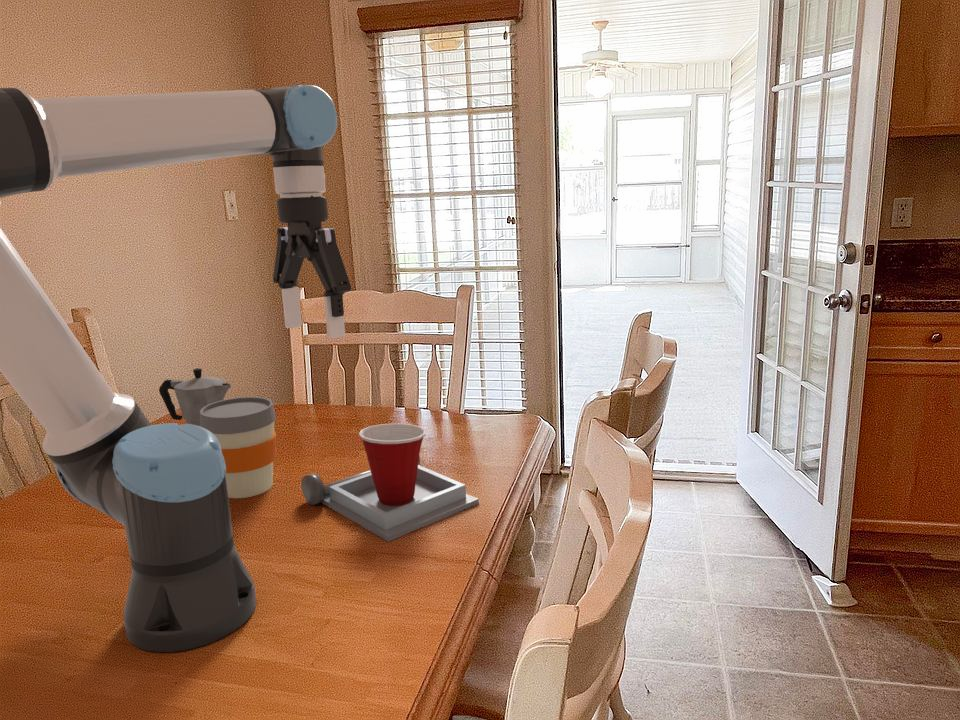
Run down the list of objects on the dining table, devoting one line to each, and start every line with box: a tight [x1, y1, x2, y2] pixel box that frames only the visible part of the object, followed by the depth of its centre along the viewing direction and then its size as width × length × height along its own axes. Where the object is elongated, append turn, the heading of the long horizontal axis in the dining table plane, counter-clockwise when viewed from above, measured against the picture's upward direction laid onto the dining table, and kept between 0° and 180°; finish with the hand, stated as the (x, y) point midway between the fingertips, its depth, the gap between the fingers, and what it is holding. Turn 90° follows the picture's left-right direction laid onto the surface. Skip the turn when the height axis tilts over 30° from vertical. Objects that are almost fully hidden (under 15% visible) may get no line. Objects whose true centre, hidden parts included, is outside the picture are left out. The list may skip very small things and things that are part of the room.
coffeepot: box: [158, 367, 232, 426], centre depth 142 cm, size 15×9×18 cm, turn 79°
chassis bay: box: [300, 455, 480, 543], centre depth 119 cm, size 21×23×5 cm
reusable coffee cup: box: [200, 396, 277, 499], centre depth 125 cm, size 13×12×15 cm
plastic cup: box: [358, 423, 427, 506], centre depth 117 cm, size 11×11×12 cm
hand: (314, 332), depth 115 cm, fingers open, 13 cm apart
